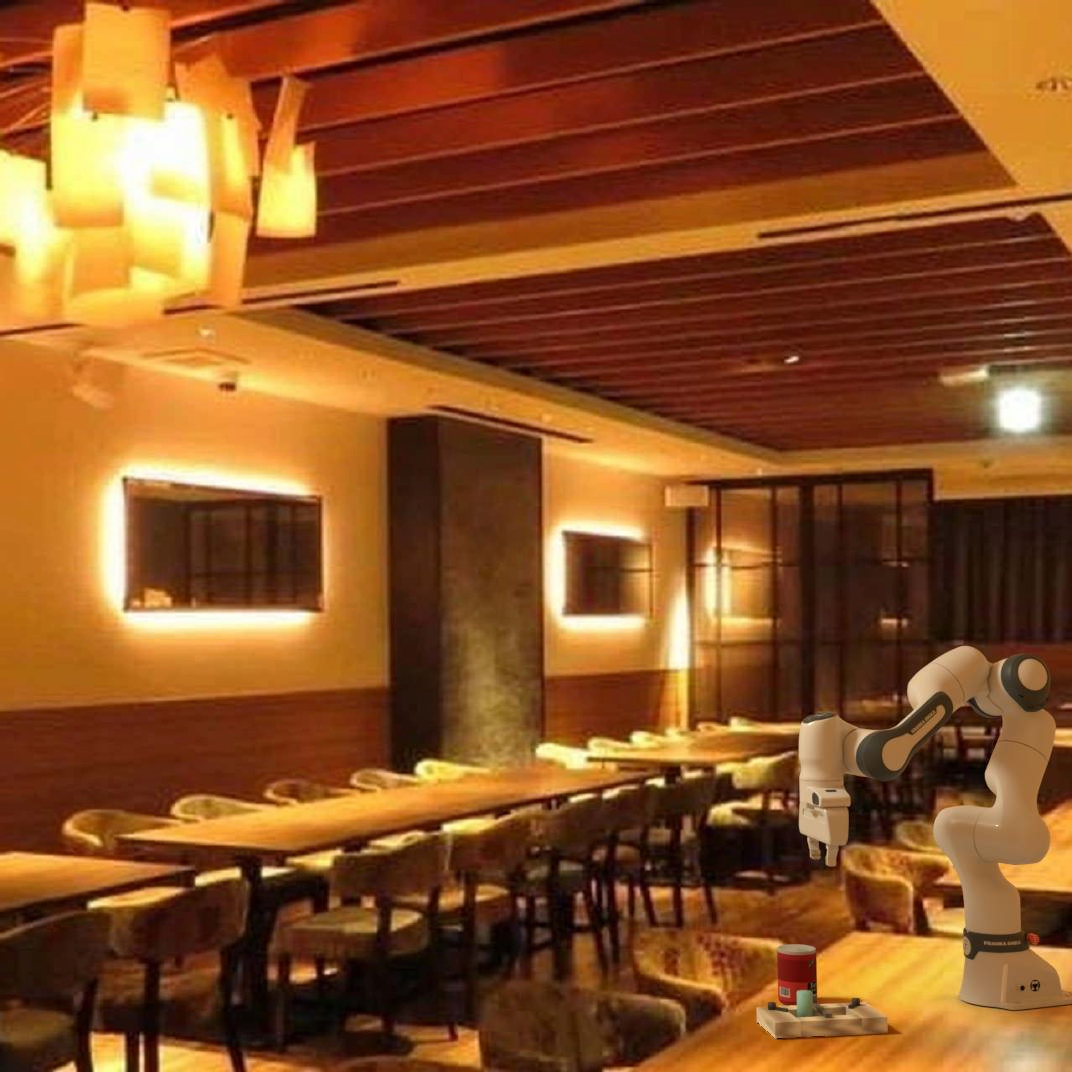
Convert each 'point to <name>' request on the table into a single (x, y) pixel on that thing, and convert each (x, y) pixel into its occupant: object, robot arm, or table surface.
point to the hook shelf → (822, 1020)
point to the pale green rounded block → (804, 1003)
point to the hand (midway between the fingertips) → (823, 862)
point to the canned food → (796, 971)
